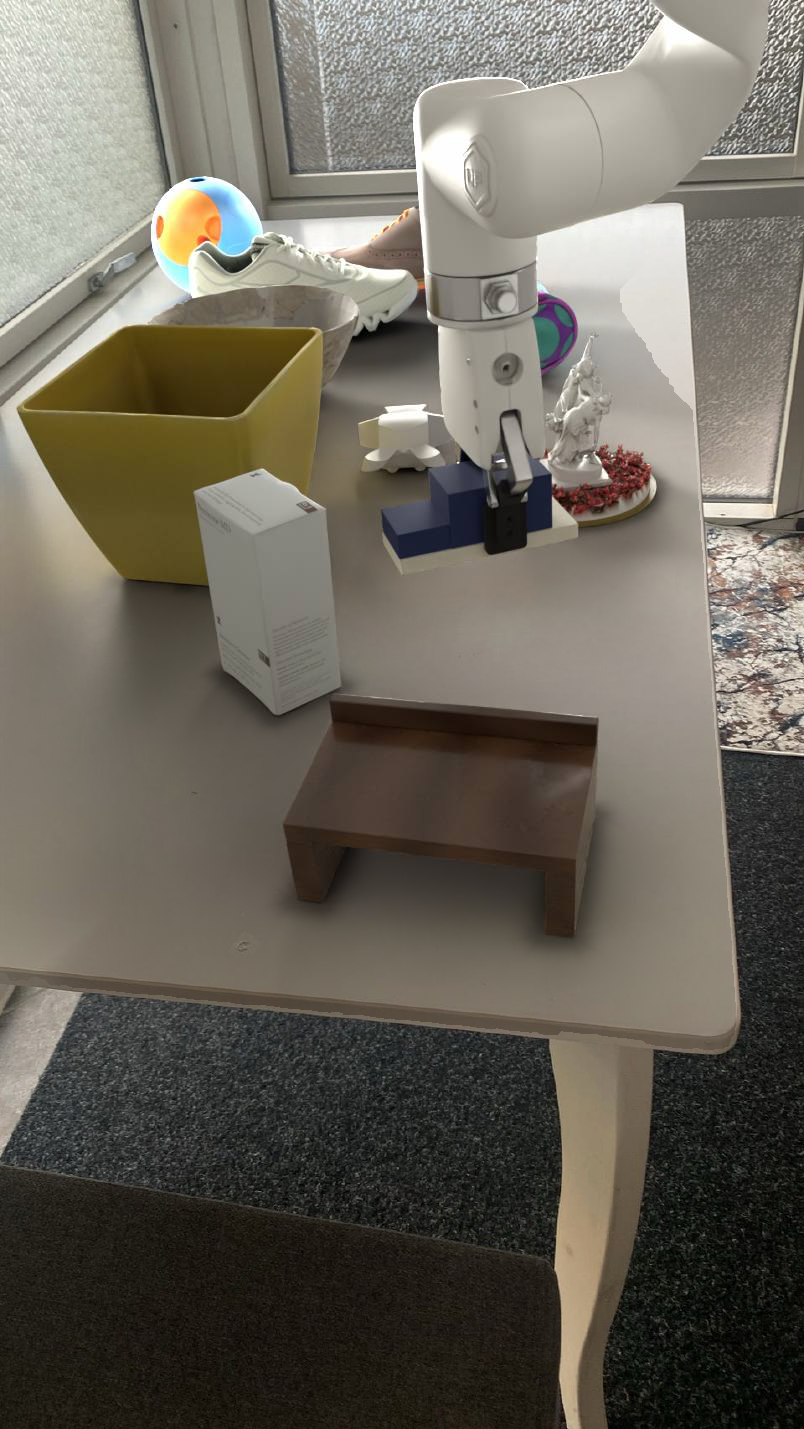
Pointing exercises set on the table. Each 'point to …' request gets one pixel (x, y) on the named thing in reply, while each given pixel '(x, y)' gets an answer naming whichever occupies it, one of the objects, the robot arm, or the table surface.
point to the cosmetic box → (270, 588)
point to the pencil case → (553, 329)
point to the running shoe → (302, 276)
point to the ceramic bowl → (276, 315)
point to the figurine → (592, 456)
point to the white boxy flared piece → (403, 439)
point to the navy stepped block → (466, 518)
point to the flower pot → (174, 432)
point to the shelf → (450, 793)
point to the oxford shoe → (389, 248)
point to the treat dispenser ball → (201, 224)
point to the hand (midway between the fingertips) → (492, 530)
